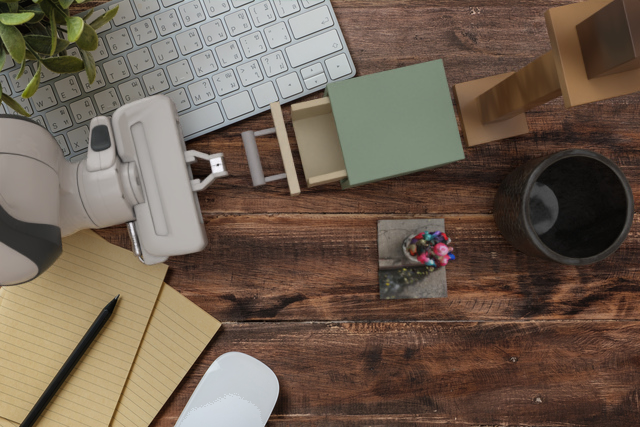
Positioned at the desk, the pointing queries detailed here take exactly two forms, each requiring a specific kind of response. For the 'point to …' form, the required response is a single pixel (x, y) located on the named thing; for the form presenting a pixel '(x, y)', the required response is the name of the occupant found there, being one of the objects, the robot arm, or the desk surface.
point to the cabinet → (394, 123)
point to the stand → (538, 82)
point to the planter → (565, 207)
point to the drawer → (301, 146)
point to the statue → (412, 258)
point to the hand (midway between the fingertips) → (225, 164)
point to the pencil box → (611, 39)
